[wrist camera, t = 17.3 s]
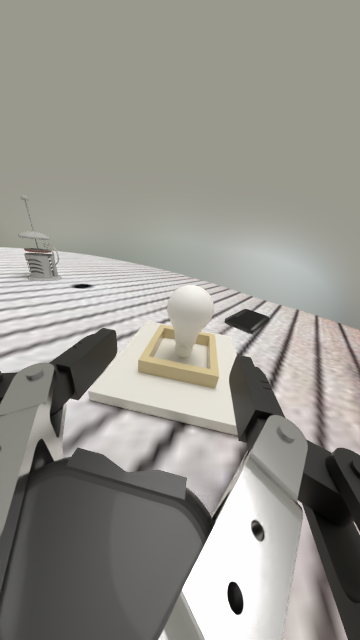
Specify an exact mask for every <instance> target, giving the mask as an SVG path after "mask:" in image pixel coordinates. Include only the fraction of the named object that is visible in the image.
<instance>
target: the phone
mask: <svg viewBox="0 0 360 640" xmlns="http://www.w3.org/2000/svg"><path fill="white" fill-rule="evenodd" d="M268 320H269V317H268V316H265V315H262V314H259V313H256V312H254V311H251V310H248V309H244V310H242V311H240V312H238V313H236V314H234V315H232V316H230V317H228V318H226V319H225V323H226V324H229V325H231V326H233V327H235V326H237V327H238V329H240V330H242V331H245V332H247V333H250V334H253V333H254V332H256V331H257V330H258V329H259V328H260V327H261V326H262V325H264V324H265V323H266V322H267V321H268ZM234 325H235V326H234ZM237 327H235V328H237Z"/></svg>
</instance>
